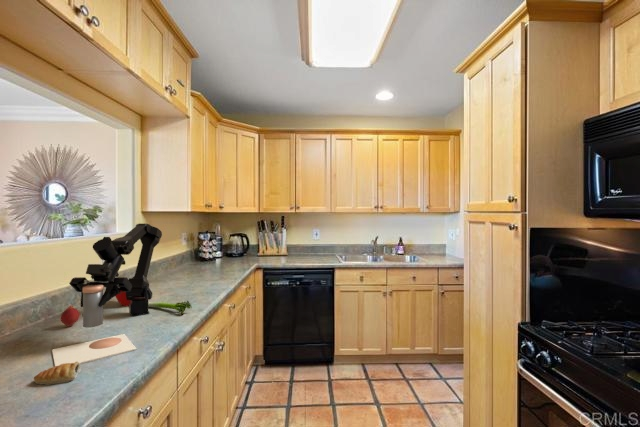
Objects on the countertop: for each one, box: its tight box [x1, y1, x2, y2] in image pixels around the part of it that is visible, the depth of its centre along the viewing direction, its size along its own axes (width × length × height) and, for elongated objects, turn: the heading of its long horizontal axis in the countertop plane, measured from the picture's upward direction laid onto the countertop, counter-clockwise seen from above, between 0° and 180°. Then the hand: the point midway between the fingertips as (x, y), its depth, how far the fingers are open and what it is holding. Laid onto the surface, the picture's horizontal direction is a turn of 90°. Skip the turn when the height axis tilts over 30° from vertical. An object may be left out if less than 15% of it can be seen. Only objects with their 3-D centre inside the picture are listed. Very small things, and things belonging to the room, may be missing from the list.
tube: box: [82, 285, 104, 329], centre depth 109 cm, size 6×6×13 cm
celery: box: [148, 300, 193, 315], centre depth 145 cm, size 6×7×30 cm
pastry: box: [33, 362, 82, 385], centre depth 85 cm, size 9×7×4 cm
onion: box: [60, 304, 81, 327], centre depth 124 cm, size 6×6×8 cm
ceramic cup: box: [115, 291, 131, 307], centre depth 155 cm, size 13×17×10 cm
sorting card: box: [51, 333, 137, 366], centre depth 102 cm, size 20×17×1 cm
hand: (90, 306), depth 108 cm, fingers closed on tube, 5 cm apart
